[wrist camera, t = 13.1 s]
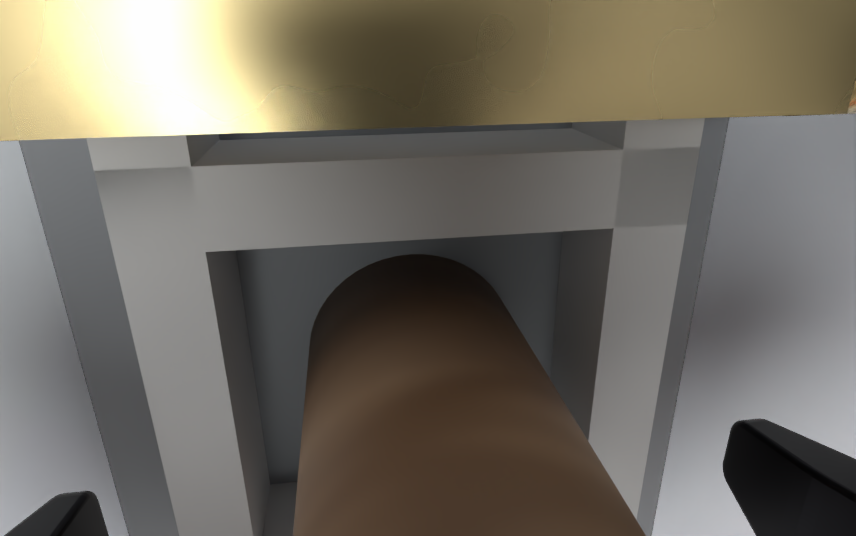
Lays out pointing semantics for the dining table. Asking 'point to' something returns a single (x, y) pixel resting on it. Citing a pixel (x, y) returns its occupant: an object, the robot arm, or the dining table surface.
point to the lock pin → (412, 63)
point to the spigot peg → (439, 418)
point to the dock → (344, 255)
